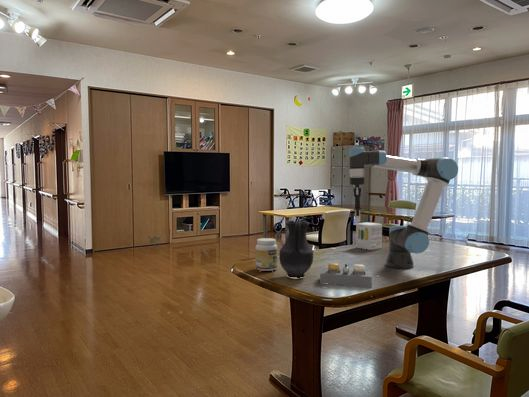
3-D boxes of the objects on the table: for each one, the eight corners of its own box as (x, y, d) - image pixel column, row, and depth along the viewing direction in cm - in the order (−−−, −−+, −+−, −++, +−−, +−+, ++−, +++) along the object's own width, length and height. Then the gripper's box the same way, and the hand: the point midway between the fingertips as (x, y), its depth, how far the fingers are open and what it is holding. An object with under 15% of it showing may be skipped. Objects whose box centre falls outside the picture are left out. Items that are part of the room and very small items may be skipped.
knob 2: (364, 279, 193) (364, 264, 193) (364, 282, 188) (364, 267, 188) (353, 278, 195) (353, 263, 194) (352, 281, 189) (353, 266, 189)
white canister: (355, 247, 283) (355, 223, 282) (366, 245, 291) (367, 222, 290) (370, 250, 273) (370, 225, 271) (382, 248, 281) (382, 223, 279)
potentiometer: (349, 273, 191) (349, 263, 191) (348, 274, 188) (348, 265, 188) (343, 272, 192) (343, 263, 192) (342, 274, 189) (342, 264, 189)
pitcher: (311, 273, 211) (312, 217, 209) (315, 283, 190) (315, 222, 188) (279, 272, 212) (279, 217, 210) (279, 283, 191) (279, 222, 189)
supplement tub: (270, 273, 210) (270, 242, 209) (251, 270, 216) (251, 240, 215) (281, 268, 221) (281, 238, 220) (262, 266, 227) (262, 237, 226)
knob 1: (339, 278, 196) (339, 263, 196) (338, 280, 191) (339, 265, 191) (328, 277, 198) (328, 262, 197) (327, 280, 192) (327, 265, 192)
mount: (371, 280, 196) (371, 270, 195) (371, 287, 184) (371, 276, 184) (322, 277, 202) (322, 267, 201) (320, 283, 190) (320, 273, 190)
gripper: (349, 176, 213) (350, 220, 214) (349, 177, 200) (350, 223, 202) (364, 176, 211) (364, 220, 213) (364, 177, 198) (365, 223, 200)
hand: (357, 221), depth 207 cm, fingers closed
